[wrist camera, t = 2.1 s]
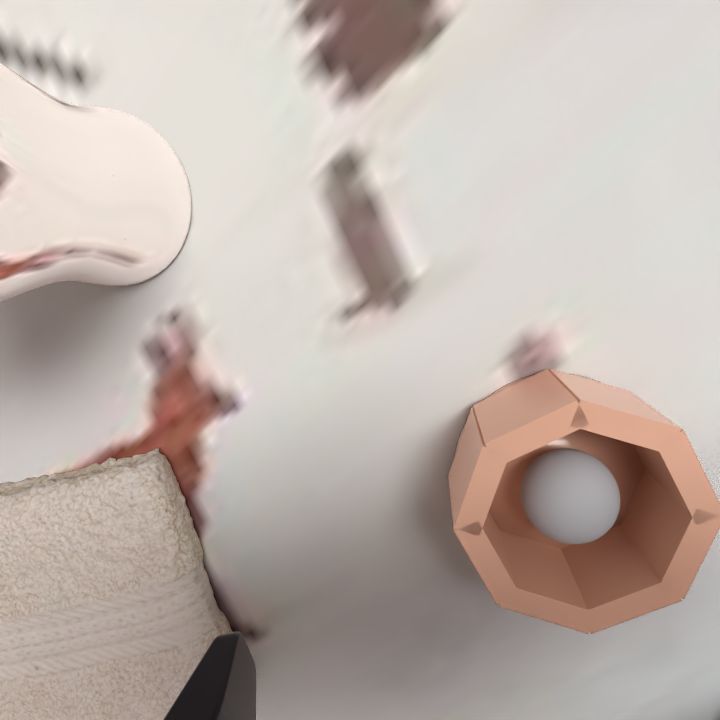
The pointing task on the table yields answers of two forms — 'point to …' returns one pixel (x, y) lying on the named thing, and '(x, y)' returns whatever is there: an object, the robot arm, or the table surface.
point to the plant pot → (634, 521)
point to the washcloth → (101, 593)
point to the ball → (570, 496)
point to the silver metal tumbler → (83, 193)
